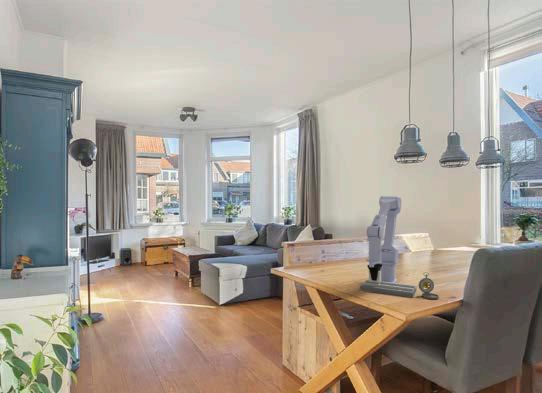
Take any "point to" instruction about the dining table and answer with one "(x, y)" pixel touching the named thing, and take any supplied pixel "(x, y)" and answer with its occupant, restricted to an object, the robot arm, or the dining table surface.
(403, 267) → the dining table surface
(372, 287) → the fader console
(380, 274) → the fader tab
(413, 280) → the dining table surface
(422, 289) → the pocket watch
